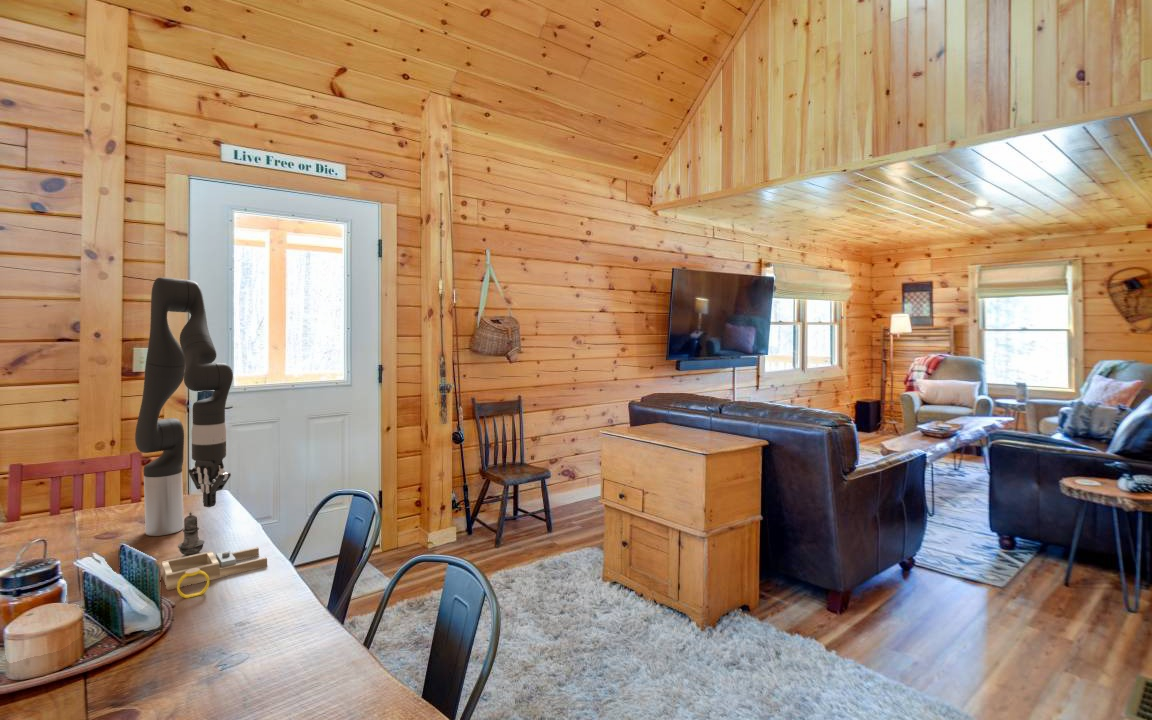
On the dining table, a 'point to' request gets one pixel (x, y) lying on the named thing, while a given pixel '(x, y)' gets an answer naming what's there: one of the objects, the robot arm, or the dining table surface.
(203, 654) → the dining table surface
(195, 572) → the watch
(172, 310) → the robot arm
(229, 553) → the cover
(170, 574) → the holder
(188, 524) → the dark stupa figurine
